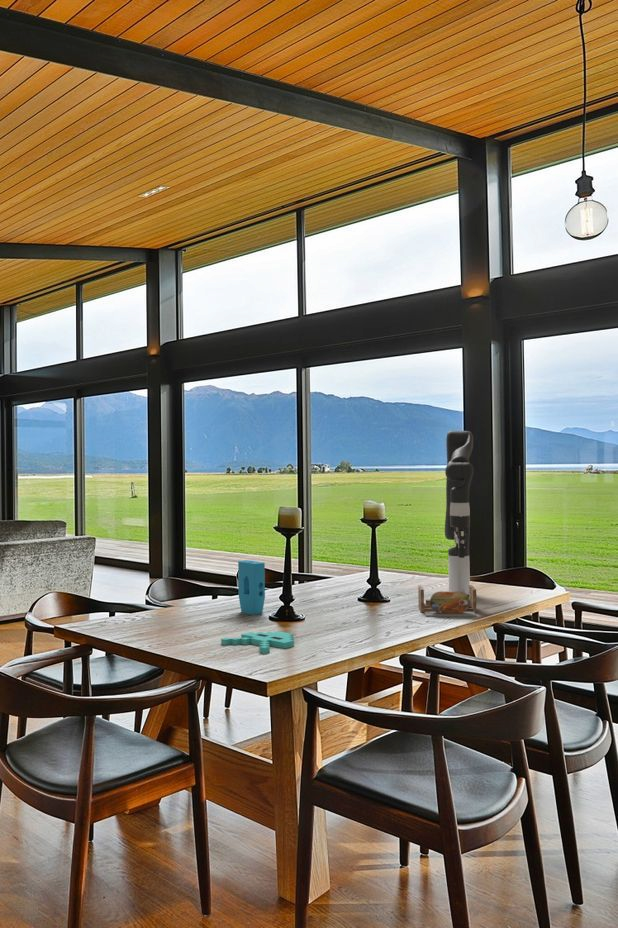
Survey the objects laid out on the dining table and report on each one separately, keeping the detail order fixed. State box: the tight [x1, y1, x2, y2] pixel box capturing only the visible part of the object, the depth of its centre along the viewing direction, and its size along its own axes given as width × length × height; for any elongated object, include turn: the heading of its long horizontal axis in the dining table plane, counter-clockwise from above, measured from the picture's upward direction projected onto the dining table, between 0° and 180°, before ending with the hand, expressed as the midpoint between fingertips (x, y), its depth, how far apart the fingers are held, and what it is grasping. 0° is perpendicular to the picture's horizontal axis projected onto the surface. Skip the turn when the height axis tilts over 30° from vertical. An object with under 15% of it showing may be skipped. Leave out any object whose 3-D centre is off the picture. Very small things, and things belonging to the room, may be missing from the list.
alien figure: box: [220, 631, 295, 655], centre depth 254 cm, size 20×2×20 cm
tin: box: [430, 590, 470, 614], centre depth 299 cm, size 15×3×8 cm, turn 85°
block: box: [237, 559, 266, 616], centre depth 307 cm, size 12×5×20 cm, turn 41°
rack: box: [417, 584, 477, 614], centre depth 308 cm, size 11×21×9 cm, turn 87°
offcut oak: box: [425, 598, 431, 605], centre depth 312 cm, size 2×5×2 cm, turn 65°
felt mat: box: [424, 612, 477, 618], centre depth 298 cm, size 7×19×1 cm, turn 87°
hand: (460, 556), depth 301 cm, fingers open, 8 cm apart
